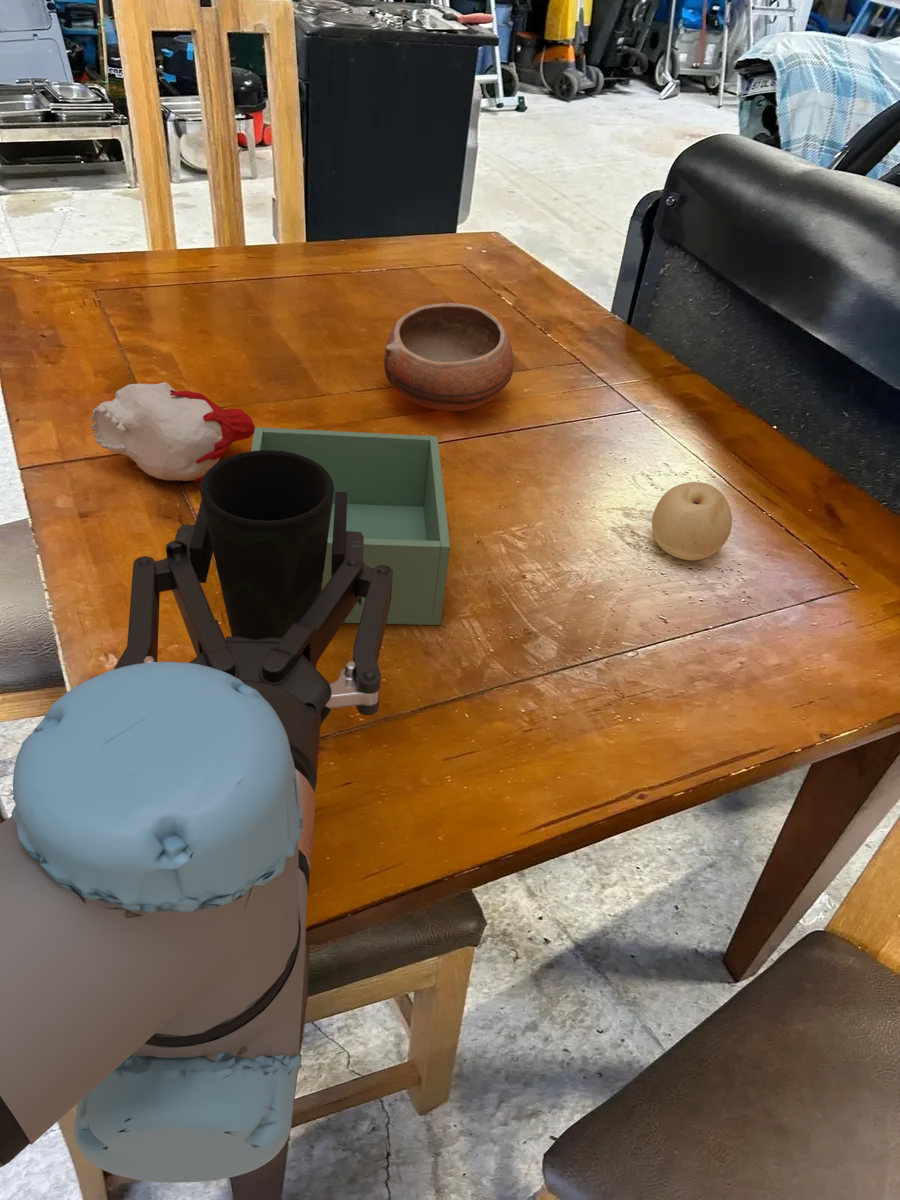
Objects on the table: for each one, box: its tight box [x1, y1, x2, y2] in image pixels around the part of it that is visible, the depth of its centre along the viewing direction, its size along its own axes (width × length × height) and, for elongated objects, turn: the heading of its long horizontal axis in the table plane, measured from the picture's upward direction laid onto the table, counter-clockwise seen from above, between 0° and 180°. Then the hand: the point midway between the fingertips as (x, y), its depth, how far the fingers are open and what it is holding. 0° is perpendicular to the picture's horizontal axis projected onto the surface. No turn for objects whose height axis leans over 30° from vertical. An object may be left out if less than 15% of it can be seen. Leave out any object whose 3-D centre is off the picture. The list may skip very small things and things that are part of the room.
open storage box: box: [250, 426, 451, 626], centre depth 82 cm, size 18×18×9 cm
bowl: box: [383, 302, 515, 412], centre depth 108 cm, size 16×16×10 cm
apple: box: [651, 481, 733, 561], centre depth 90 cm, size 8×8×8 cm
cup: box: [199, 450, 334, 640], centre depth 56 cm, size 8×8×12 cm
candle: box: [90, 381, 256, 483], centre depth 92 cm, size 9×11×15 cm
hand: (277, 506), depth 59 cm, fingers closed on cup, 8 cm apart
